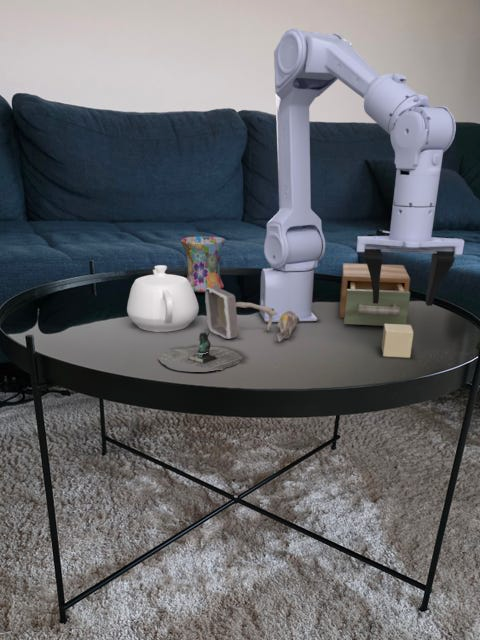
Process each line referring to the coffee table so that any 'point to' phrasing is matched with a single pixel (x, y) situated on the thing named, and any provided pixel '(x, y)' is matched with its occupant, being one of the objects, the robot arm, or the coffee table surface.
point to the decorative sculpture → (225, 315)
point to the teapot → (162, 302)
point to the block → (397, 340)
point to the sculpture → (204, 355)
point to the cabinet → (362, 274)
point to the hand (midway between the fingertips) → (401, 303)
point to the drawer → (385, 312)
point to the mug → (203, 262)
